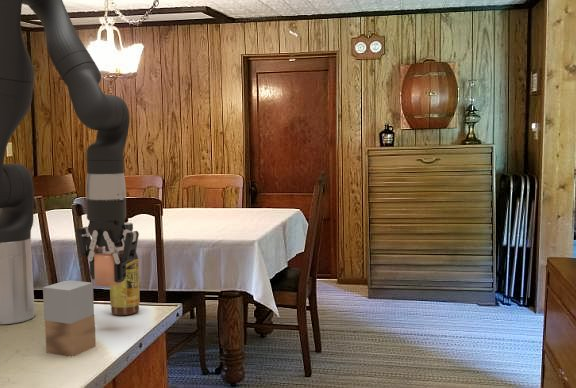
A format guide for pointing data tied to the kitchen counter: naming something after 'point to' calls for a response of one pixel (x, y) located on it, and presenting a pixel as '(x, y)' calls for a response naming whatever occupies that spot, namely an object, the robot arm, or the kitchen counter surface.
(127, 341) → the kitchen counter surface
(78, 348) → the walnut block
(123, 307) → the sauce bottle
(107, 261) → the clay cylinder
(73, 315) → the slate block
